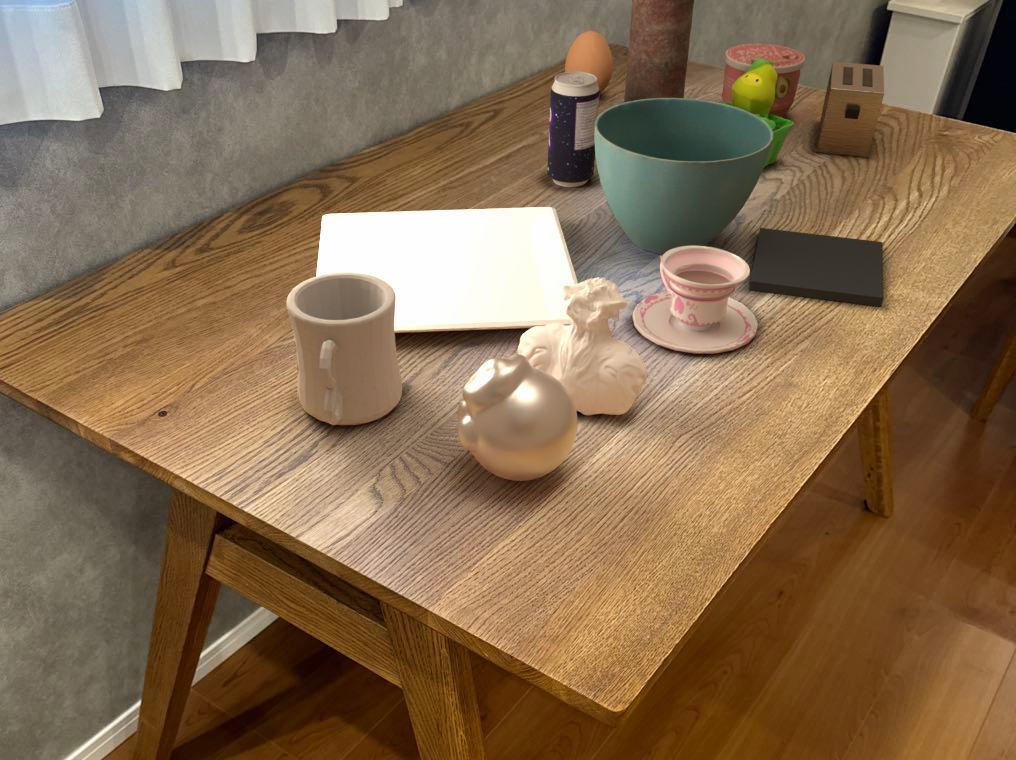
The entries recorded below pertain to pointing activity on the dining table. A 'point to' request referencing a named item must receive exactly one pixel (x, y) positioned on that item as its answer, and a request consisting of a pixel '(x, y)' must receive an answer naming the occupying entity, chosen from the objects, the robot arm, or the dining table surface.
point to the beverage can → (572, 128)
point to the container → (784, 65)
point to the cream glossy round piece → (516, 419)
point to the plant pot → (678, 167)
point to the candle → (658, 49)
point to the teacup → (697, 303)
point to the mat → (818, 267)
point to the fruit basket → (761, 101)
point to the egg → (591, 57)
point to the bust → (588, 351)
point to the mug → (345, 347)
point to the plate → (457, 265)
